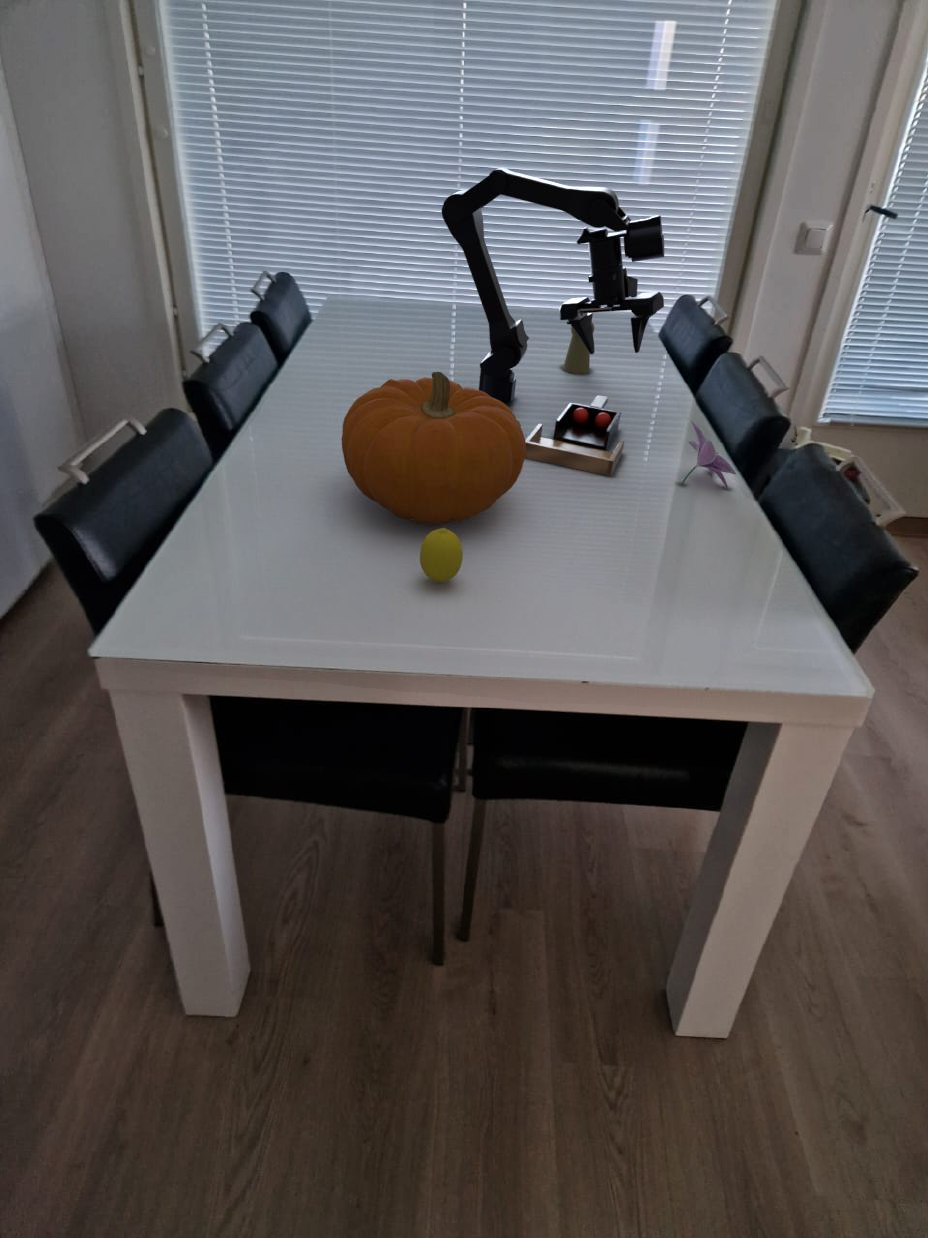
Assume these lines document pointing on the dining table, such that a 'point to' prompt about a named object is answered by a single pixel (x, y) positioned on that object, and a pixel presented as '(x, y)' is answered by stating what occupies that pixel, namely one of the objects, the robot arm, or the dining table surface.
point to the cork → (577, 355)
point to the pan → (587, 425)
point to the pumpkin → (432, 448)
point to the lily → (709, 457)
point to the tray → (571, 454)
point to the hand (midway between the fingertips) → (614, 353)
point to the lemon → (441, 555)
